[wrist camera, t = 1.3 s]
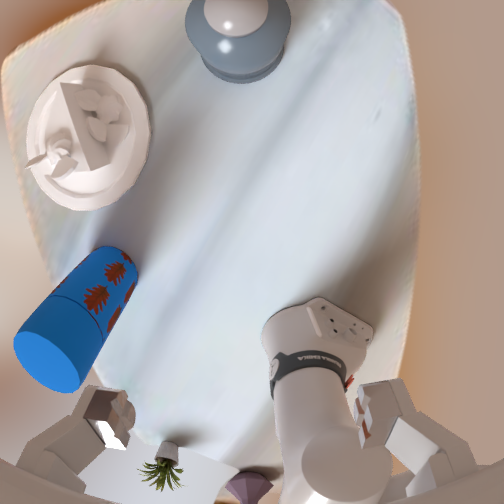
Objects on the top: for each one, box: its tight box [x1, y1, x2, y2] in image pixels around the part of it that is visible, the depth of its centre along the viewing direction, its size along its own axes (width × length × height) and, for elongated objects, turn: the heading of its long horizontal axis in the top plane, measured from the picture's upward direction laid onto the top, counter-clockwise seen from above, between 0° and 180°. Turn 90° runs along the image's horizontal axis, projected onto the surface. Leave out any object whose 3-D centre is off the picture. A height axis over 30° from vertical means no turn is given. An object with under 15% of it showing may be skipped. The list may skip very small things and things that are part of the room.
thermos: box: [14, 246, 138, 393], centre depth 42 cm, size 11×11×25 cm
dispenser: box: [185, 0, 291, 84], centre depth 30 cm, size 12×12×18 cm
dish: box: [25, 64, 151, 211], centre depth 38 cm, size 25×25×11 cm
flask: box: [225, 472, 274, 504], centre depth 76 cm, size 16×16×20 cm
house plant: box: [138, 441, 183, 491], centre depth 69 cm, size 14×14×16 cm
